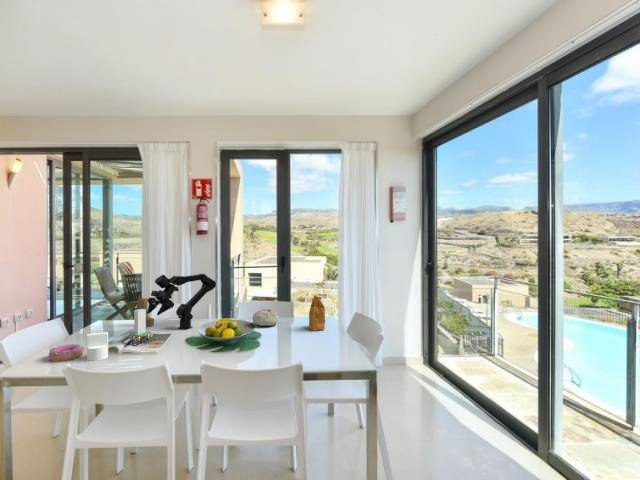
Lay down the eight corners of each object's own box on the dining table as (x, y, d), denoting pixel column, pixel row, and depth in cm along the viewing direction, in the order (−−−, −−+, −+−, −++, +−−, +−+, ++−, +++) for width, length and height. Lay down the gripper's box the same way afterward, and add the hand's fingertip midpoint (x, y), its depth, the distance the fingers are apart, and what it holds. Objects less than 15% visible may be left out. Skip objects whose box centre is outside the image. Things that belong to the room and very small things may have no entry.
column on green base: (141, 331, 209) (141, 307, 209) (150, 333, 206) (150, 309, 206) (129, 335, 202) (128, 310, 202) (138, 337, 199) (138, 312, 198)
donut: (78, 350, 188) (78, 341, 188) (88, 357, 179) (88, 347, 179) (44, 358, 177) (44, 348, 177) (53, 365, 168) (53, 354, 168)
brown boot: (154, 324, 241) (154, 298, 241) (151, 326, 237) (151, 299, 237) (140, 324, 241) (140, 298, 241) (137, 326, 237) (137, 299, 236)
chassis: (142, 337, 212) (142, 330, 212) (156, 340, 207) (156, 333, 207) (123, 342, 201) (123, 335, 201) (137, 346, 196) (137, 338, 196)
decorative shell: (277, 328, 234) (277, 313, 234) (250, 328, 235) (250, 313, 234) (280, 321, 252) (280, 307, 252) (255, 321, 252) (255, 307, 252)
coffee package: (321, 325, 242) (322, 293, 241) (326, 330, 230) (326, 296, 229) (307, 326, 240) (307, 294, 239) (311, 331, 227) (311, 297, 227)
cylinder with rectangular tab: (85, 362, 172) (85, 337, 171) (88, 356, 180) (87, 332, 179) (107, 359, 176) (107, 334, 176) (108, 353, 184) (108, 330, 184)
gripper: (149, 284, 222) (133, 305, 213) (169, 285, 213) (153, 307, 204) (160, 295, 229) (145, 315, 220) (180, 296, 220) (166, 318, 211)
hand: (152, 314), depth 213 cm, fingers open, 9 cm apart
